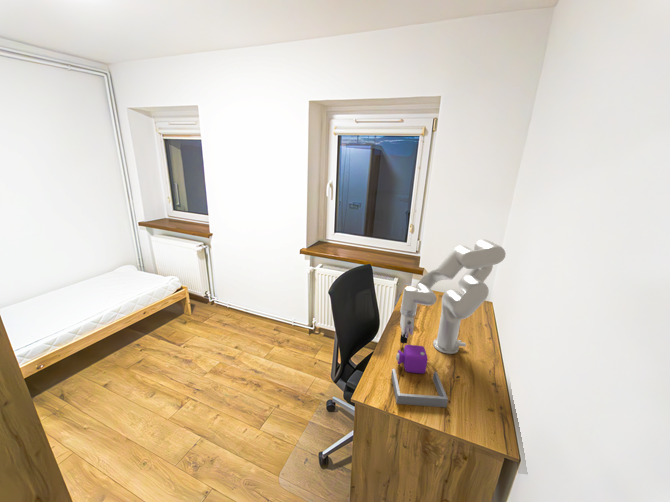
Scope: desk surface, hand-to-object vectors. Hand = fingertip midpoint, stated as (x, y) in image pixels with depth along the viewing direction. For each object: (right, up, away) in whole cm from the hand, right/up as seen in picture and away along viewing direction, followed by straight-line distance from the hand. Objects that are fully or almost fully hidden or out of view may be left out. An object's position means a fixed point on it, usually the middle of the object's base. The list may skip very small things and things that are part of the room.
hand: (403, 342), depth 148 cm
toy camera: (0, -7, -14) cm, 16 cm away
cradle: (-1, -11, -28) cm, 30 cm away
